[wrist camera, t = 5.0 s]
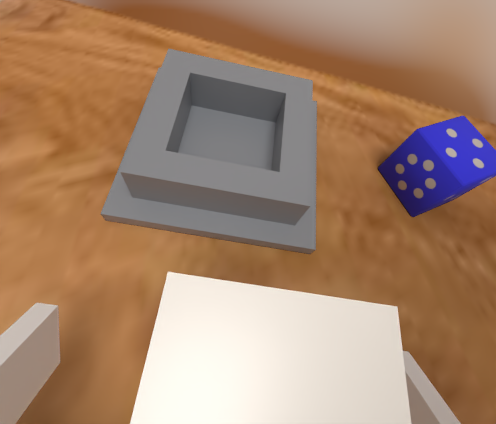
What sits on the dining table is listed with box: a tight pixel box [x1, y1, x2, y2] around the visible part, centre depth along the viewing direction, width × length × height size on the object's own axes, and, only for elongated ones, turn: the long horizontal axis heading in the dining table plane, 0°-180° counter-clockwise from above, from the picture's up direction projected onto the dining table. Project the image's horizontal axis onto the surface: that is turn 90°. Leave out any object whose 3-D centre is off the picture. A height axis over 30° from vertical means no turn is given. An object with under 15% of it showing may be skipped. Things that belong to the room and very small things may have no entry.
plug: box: [130, 272, 411, 424], centre depth 10 cm, size 5×5×12 cm
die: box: [378, 116, 496, 217], centre depth 21 cm, size 5×5×5 cm
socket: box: [101, 49, 317, 254], centre depth 20 cm, size 14×14×4 cm
